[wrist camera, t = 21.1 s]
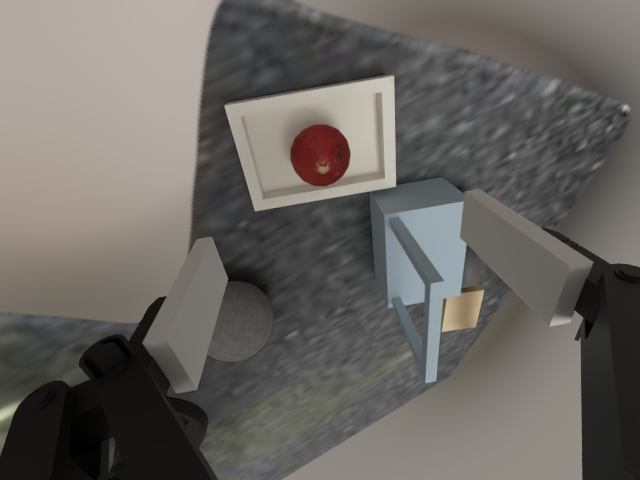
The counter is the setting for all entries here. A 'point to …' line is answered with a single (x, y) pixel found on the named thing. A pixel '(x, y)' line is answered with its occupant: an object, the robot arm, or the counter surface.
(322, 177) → the red rounded piece
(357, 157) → the tray
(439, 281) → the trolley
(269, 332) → the decorative ball
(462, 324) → the block
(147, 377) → the robot arm
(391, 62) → the counter surface
